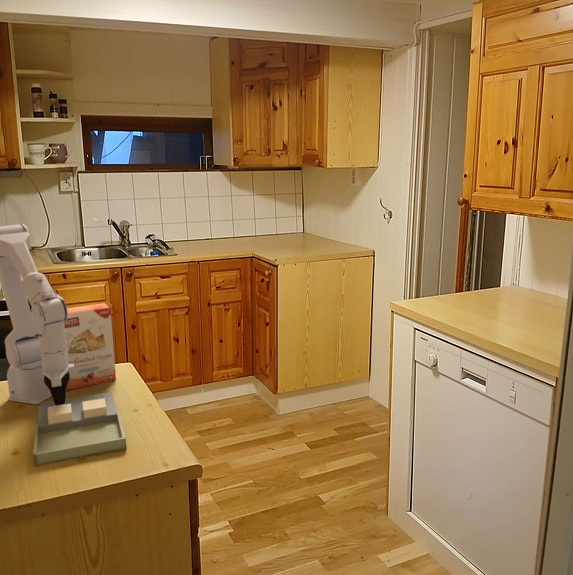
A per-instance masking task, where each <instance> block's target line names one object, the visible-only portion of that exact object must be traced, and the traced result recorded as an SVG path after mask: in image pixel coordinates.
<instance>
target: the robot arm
mask: <svg viewBox="0 0 573 575" xmlns="http://www.w3.org/2000/svg"><path fill="white" fill-rule="evenodd" d="M31 241H32V240H31V234H30V231H29V228H28V226H26V224H24V223H18V224H10V225H2V226H1V225H0V286H1V289H2V292H3V296H4V299H5V303H6V306H7V310H8V315H9V317H10V320H11V321H10V322H11V325H12V330H11V331H10V333H9V334H7V336H6V337H5V339H4V345H5V355H6V359H7V362H8V363H9V365H10V366H9V367H8V369H7V373H6V379H7V385H8V387H7V388H8V393H9V397H7V399H6V400H7V401H12V402H17V403H24V404H31V405H39V403H42V402H45V401H46V400H47V399H50V398H52V401H54V403H55V405H62V404H65V399H67V398H66V396H67V395H66V393H67V390H66V388H67V384H68V382H69V379H70V376H69V375H70V374H69V370H70V369H74V364H68V355H67V345H66V336H65V327H64V322H63V321H66V320H67V317H68V310H67V308H68V306H67V303H66V302H65V299H64V298H63V297H61V296H60V295H59V294H58V293H55V292H54V289H53V288H52V286H51V284H50V282H49V281H48V279H47V277H46V275H45V274H43V273H42V272H41V273H40V272H39V271H38V269H37V267H36V265H35V262H34V259H33V256H32V254H31V251H30V248H31ZM29 304H30V305H29ZM30 307H31V308H30Z"/></svg>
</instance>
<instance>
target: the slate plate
mask: <svg viewBox="0 0 573 575" xmlns="http://www.w3.org/2000/svg"><path fill="white" fill-rule="evenodd" d="M103 398H105V403H106V410H107V415H103V416H97V417H91V418H85V419H84V413H83V403H82V402H84V401H90V400H97V399H103ZM65 404H71V408H72V421H67V422H61V423H55V424H49V423H48V407H52V406H59V405H55V403H54V401H53V400H50V401H43V402H41V403H39V404H38V417H37V425H38V429H39V434H41V433H47V432H53V431H58V430H64V429H70V428H76V427H82V426H88V425H94V424H99V423H105V422H111V421H117V412H118V410H117V407H116V403H115V399H114V394H113V391H109V392H102V393H95V394H94V393H93V394H88V395H82V396H75V397H69V398H65ZM65 404H62V405H65Z"/></svg>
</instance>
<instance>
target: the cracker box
mask: <svg viewBox="0 0 573 575" xmlns="http://www.w3.org/2000/svg"><path fill="white" fill-rule="evenodd" d="M67 310H68V317H67V320H66V321H63V322H64V327H65V336H66V345H67V355H68V364H74V369H70V370H69V374H70V375H69V376H70V379H69V382H68V384H67V388H66V391H69V390H73V389H78V388H84V387H88V386H92V385H97V384H101V383H107V382H111V381H116V380H117V377H116V375H117V373H116V361H115V350H114V347H115V346H114V335H113V325H112V324H113V323H112V322H113V321H112V312H111V311H112V310H111V306H109V305H108V304H107V303H105V302H102V303H101V302H100V303H95V304H88V305H81V306H74V307H67Z"/></svg>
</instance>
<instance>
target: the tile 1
mask: <svg viewBox="0 0 573 575" xmlns="http://www.w3.org/2000/svg"><path fill="white" fill-rule="evenodd" d="M67 421H72V408H71V404H65V405H59V406H52V407H48V423H49V424H55V423H61V422H67Z"/></svg>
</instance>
